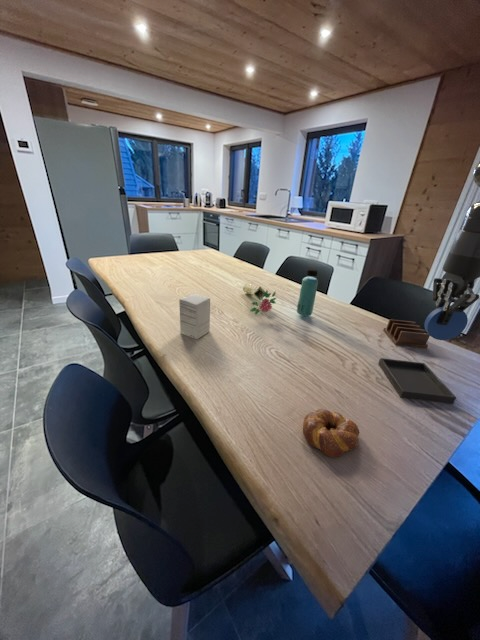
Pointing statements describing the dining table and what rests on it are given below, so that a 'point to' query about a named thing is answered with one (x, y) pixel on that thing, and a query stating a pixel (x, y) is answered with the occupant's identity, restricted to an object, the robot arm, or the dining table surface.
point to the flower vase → (259, 294)
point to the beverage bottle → (307, 293)
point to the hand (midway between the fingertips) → (438, 322)
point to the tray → (415, 381)
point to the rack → (406, 333)
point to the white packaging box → (194, 315)
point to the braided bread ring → (330, 432)
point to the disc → (445, 331)
